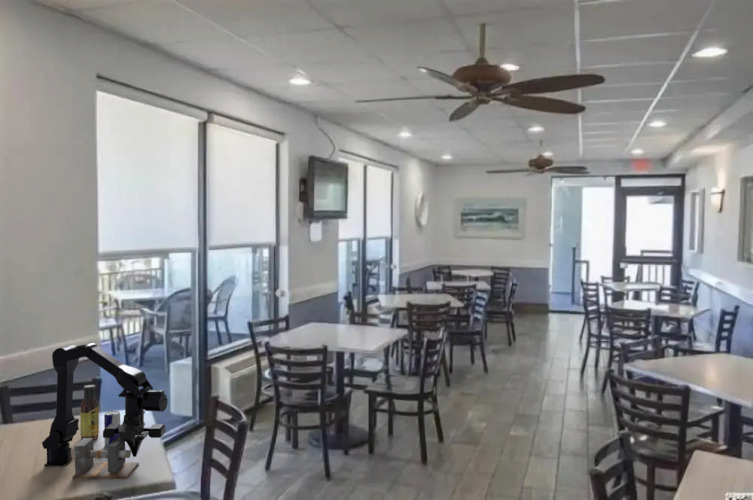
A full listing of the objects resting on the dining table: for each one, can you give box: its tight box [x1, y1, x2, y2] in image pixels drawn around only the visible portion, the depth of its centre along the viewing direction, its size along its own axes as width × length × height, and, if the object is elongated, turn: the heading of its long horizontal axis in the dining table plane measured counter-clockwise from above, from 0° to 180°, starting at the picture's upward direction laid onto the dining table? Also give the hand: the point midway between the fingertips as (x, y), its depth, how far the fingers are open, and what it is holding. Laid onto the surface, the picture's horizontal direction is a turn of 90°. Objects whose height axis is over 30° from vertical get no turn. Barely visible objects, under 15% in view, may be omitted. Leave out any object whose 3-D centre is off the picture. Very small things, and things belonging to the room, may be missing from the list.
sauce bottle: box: [79, 384, 100, 441], centre depth 236 cm, size 7×6×20 cm
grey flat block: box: [107, 436, 126, 472], centre depth 206 cm, size 2×9×9 cm, turn 2°
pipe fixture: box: [71, 438, 140, 480], centre depth 206 cm, size 17×11×10 cm, turn 92°
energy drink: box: [103, 410, 121, 449], centre depth 230 cm, size 5×5×12 cm
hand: (134, 456), depth 209 cm, fingers closed
